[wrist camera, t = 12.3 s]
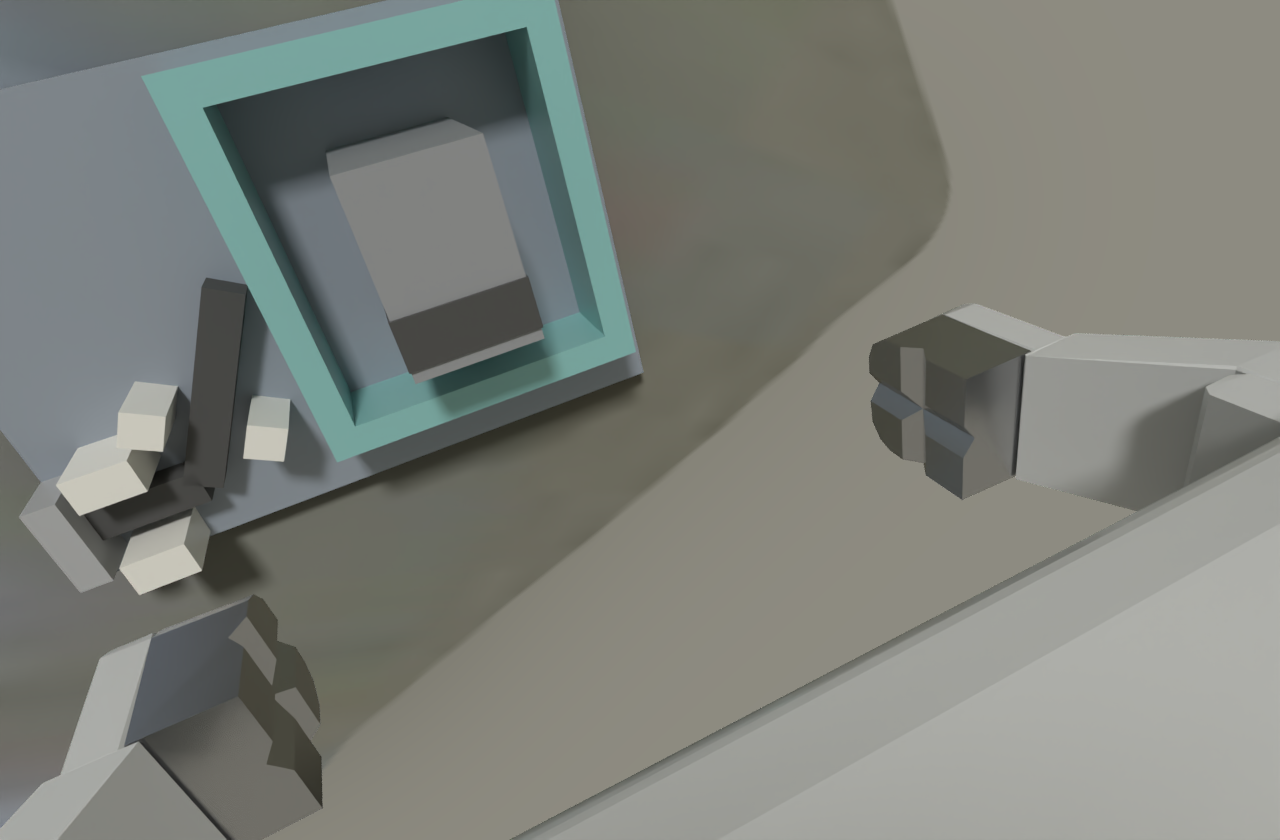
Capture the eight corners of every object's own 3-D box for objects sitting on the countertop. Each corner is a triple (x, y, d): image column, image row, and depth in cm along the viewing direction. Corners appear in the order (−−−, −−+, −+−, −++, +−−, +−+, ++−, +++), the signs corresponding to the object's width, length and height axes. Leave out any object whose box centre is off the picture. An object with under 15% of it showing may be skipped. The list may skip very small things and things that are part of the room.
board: (-201, 137, 20) (-291, 151, 17) (541, -34, 24) (572, -46, 21) (117, 557, 27) (94, 617, 24) (634, 364, 32) (667, 395, 29)
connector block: (323, 150, 23) (327, 177, 18) (448, 116, 24) (485, 132, 19) (394, 322, 26) (414, 386, 21) (503, 285, 27) (546, 338, 22)
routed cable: (65, 518, 25) (54, 537, 24) (210, 265, 23) (206, 275, 22) (177, 552, 27) (172, 571, 26) (319, 320, 25) (319, 331, 24)
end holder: (161, 73, 21) (140, 75, 18) (524, -13, 23) (549, -21, 21) (334, 424, 27) (337, 462, 25) (608, 326, 30) (635, 352, 27)
